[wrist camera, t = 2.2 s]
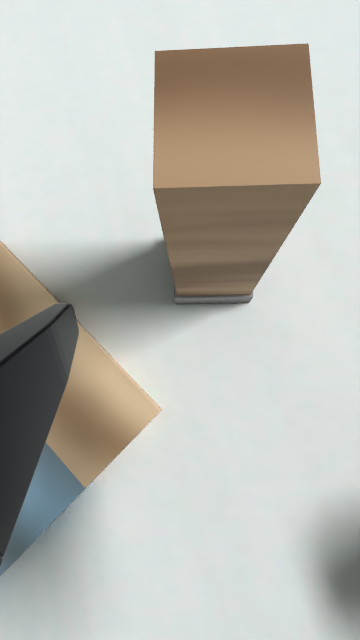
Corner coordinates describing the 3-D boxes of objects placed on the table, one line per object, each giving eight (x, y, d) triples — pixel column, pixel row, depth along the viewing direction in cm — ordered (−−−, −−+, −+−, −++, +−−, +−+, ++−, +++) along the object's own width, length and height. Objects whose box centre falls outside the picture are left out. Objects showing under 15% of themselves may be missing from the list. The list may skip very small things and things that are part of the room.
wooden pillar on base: (249, 302, 21) (327, 188, 9) (175, 303, 22) (147, 193, 9) (246, 234, 22) (313, 38, 10) (175, 235, 23) (149, 47, 10)
